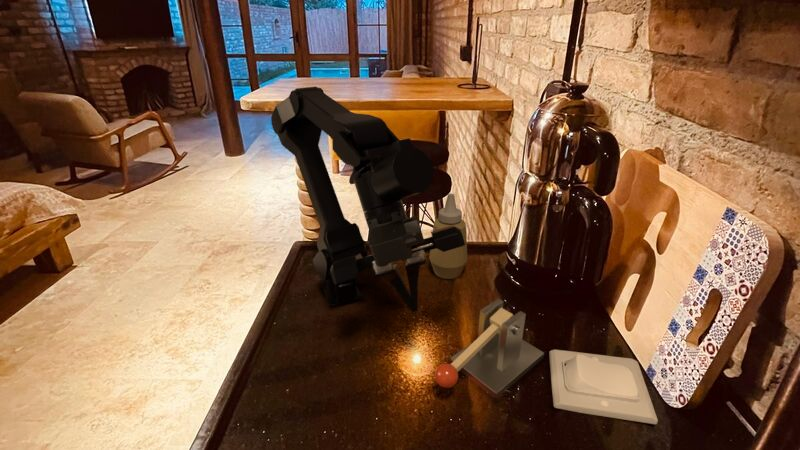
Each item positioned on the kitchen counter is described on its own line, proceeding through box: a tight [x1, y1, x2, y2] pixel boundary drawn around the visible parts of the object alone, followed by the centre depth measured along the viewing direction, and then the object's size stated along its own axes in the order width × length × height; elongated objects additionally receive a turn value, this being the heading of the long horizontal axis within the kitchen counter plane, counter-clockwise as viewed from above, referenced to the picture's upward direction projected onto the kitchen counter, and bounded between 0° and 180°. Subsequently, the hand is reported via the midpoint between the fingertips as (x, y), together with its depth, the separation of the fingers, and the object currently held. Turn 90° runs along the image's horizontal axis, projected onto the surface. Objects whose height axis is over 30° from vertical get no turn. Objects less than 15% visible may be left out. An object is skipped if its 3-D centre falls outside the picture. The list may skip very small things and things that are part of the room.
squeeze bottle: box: [428, 193, 468, 280], centre depth 84 cm, size 8×8×18 cm
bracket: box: [449, 298, 545, 400], centre depth 62 cm, size 12×9×10 cm
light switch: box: [548, 349, 659, 425], centre depth 59 cm, size 11×4×13 cm
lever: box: [434, 307, 514, 389], centre depth 58 cm, size 15×3×3 cm, turn 130°
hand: (415, 311), depth 58 cm, fingers closed
